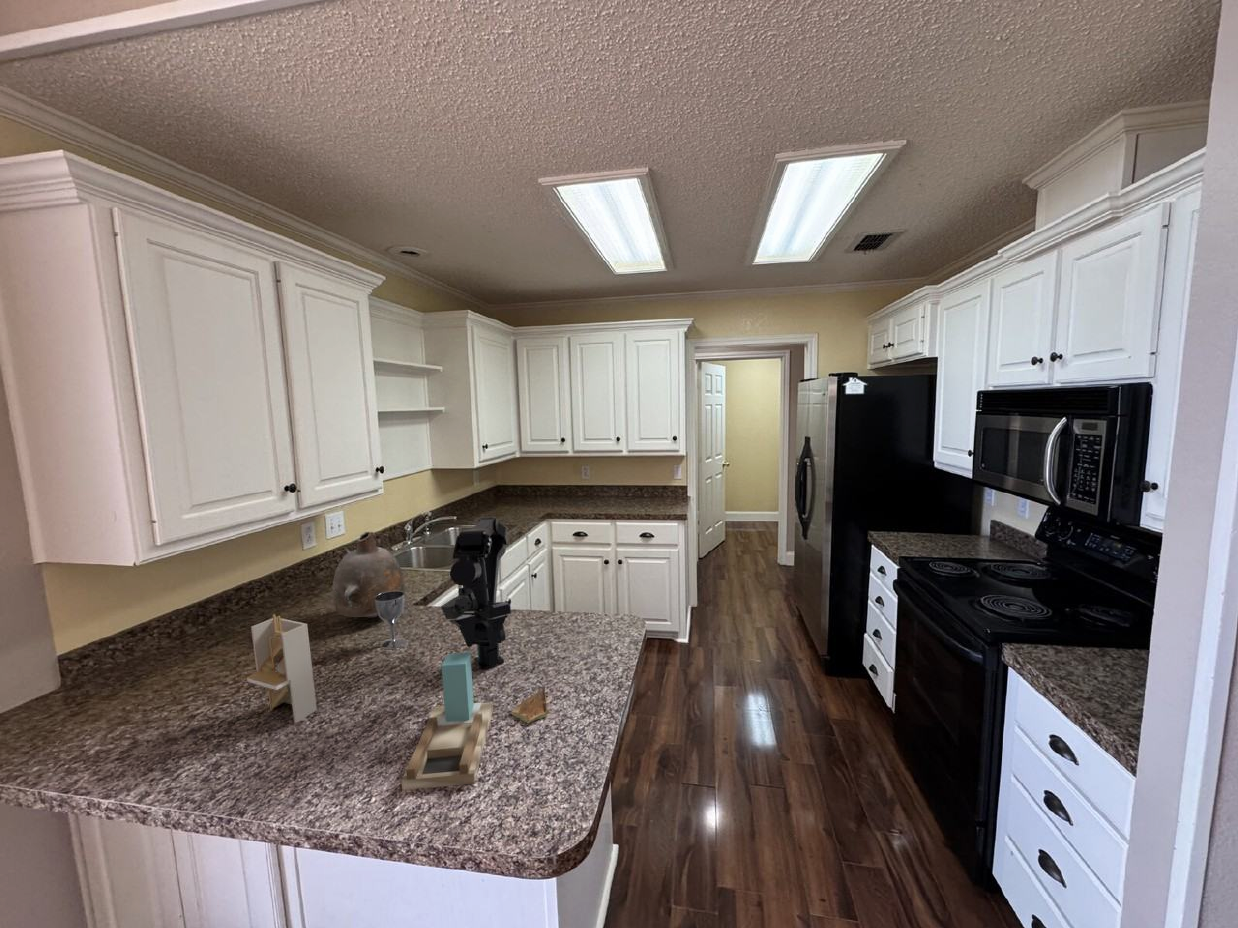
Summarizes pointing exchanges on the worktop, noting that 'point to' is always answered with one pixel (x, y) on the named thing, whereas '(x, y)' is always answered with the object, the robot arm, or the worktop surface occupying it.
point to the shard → (532, 708)
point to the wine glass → (390, 614)
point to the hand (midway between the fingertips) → (481, 647)
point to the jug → (365, 578)
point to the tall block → (457, 686)
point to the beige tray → (448, 750)
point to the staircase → (284, 664)
